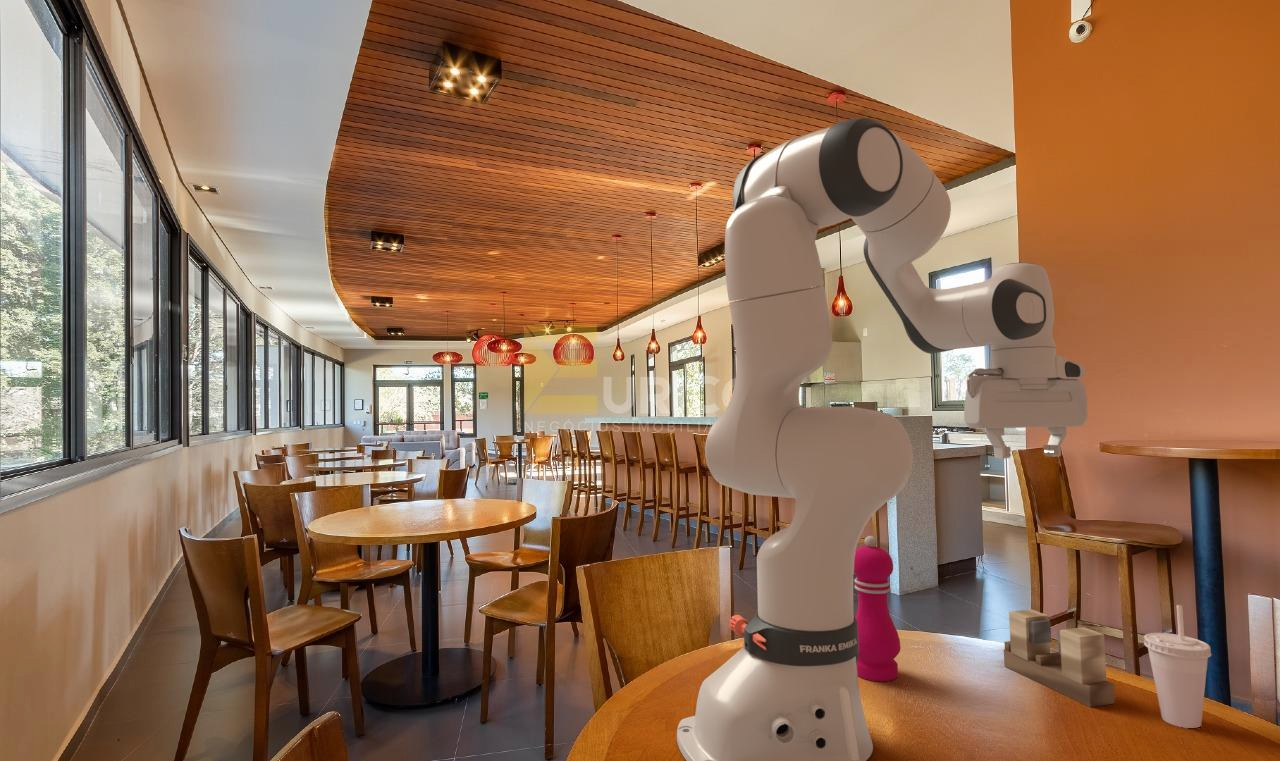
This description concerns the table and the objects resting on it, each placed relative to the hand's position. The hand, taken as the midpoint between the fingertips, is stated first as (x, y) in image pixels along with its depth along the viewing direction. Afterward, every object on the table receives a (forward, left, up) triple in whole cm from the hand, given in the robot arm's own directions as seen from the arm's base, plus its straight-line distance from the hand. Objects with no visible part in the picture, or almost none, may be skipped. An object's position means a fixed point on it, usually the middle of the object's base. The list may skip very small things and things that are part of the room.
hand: (1027, 457), depth 99 cm
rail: (-4, -7, -31) cm, 32 cm away
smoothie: (+1, -20, -31) cm, 37 cm away
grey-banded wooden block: (-4, -3, -29) cm, 29 cm away
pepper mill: (-26, +3, -31) cm, 41 cm away
